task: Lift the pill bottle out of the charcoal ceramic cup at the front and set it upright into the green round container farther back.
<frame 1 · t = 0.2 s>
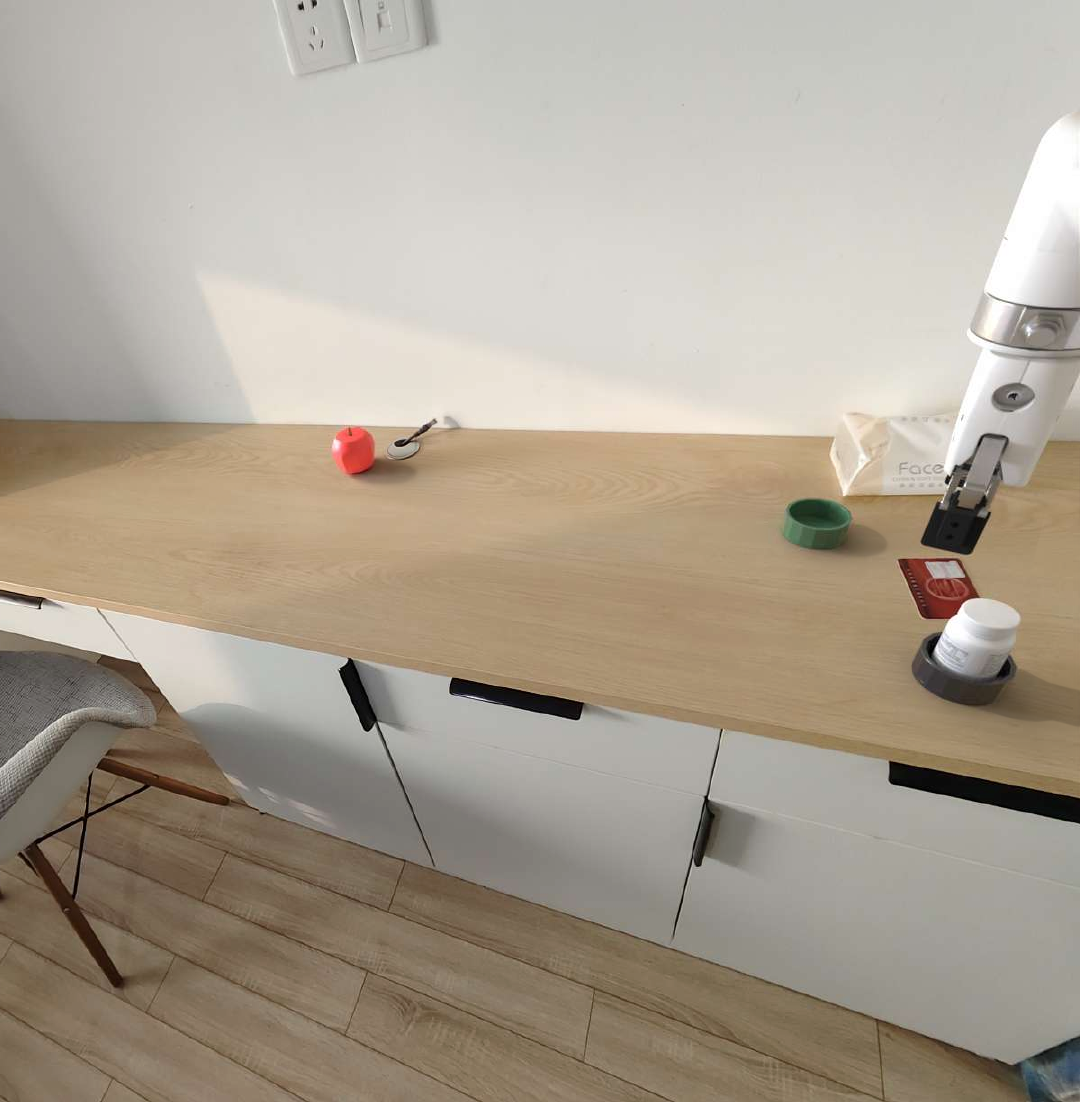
hand: (956, 516, 55), 19 cm above the table, tool pointing down, fingers open, 9 cm apart
pill bottle: (956, 676, 64), resting on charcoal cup
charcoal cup: (955, 677, 64), on the table
apple: (357, 467, 119), on the table
green round container: (812, 532, 83), on the table
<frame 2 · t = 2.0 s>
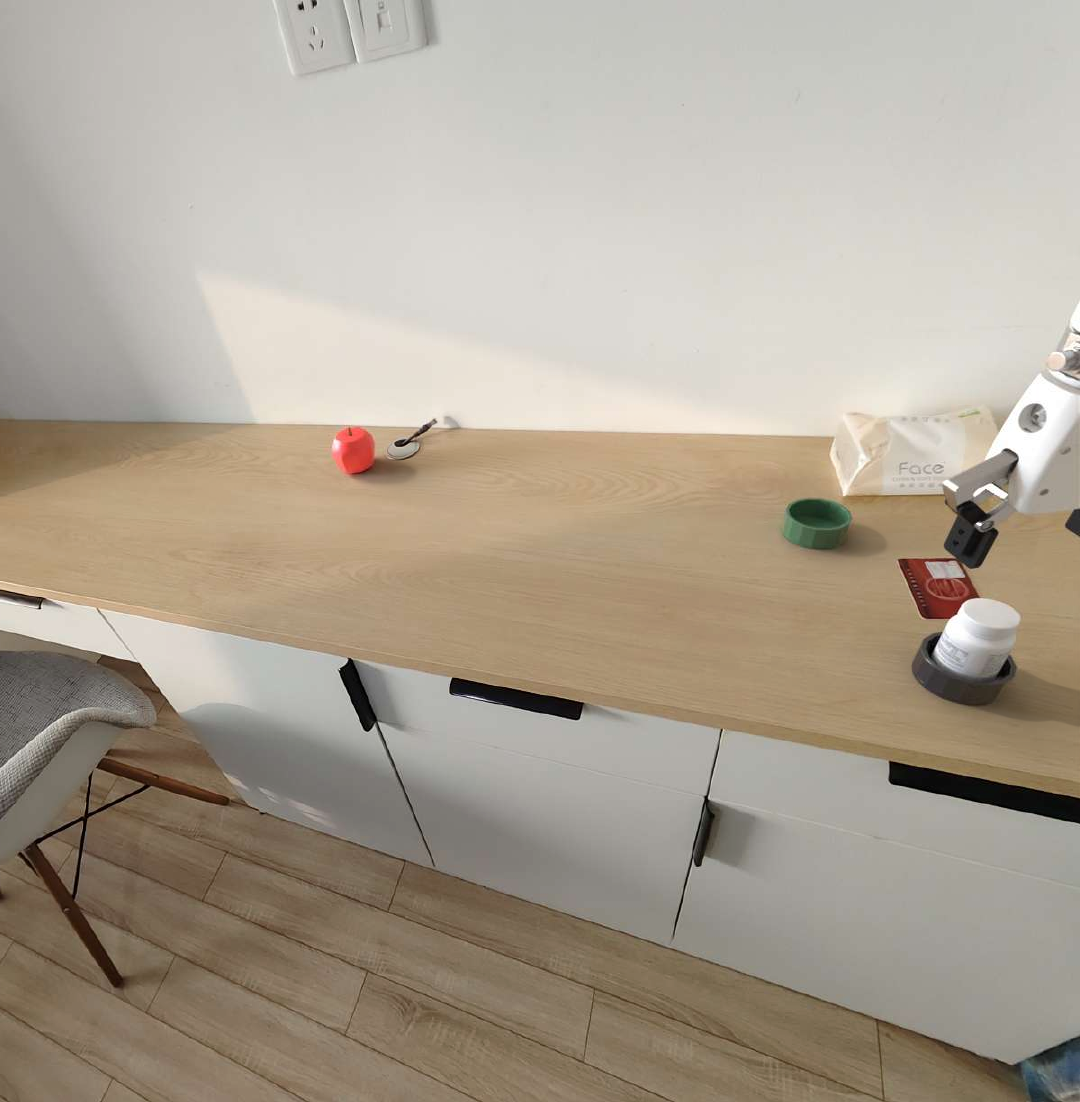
hand: (1022, 547, 55), 16 cm above the table, tool pointing down, fingers open, 9 cm apart
nothing on the table moved.
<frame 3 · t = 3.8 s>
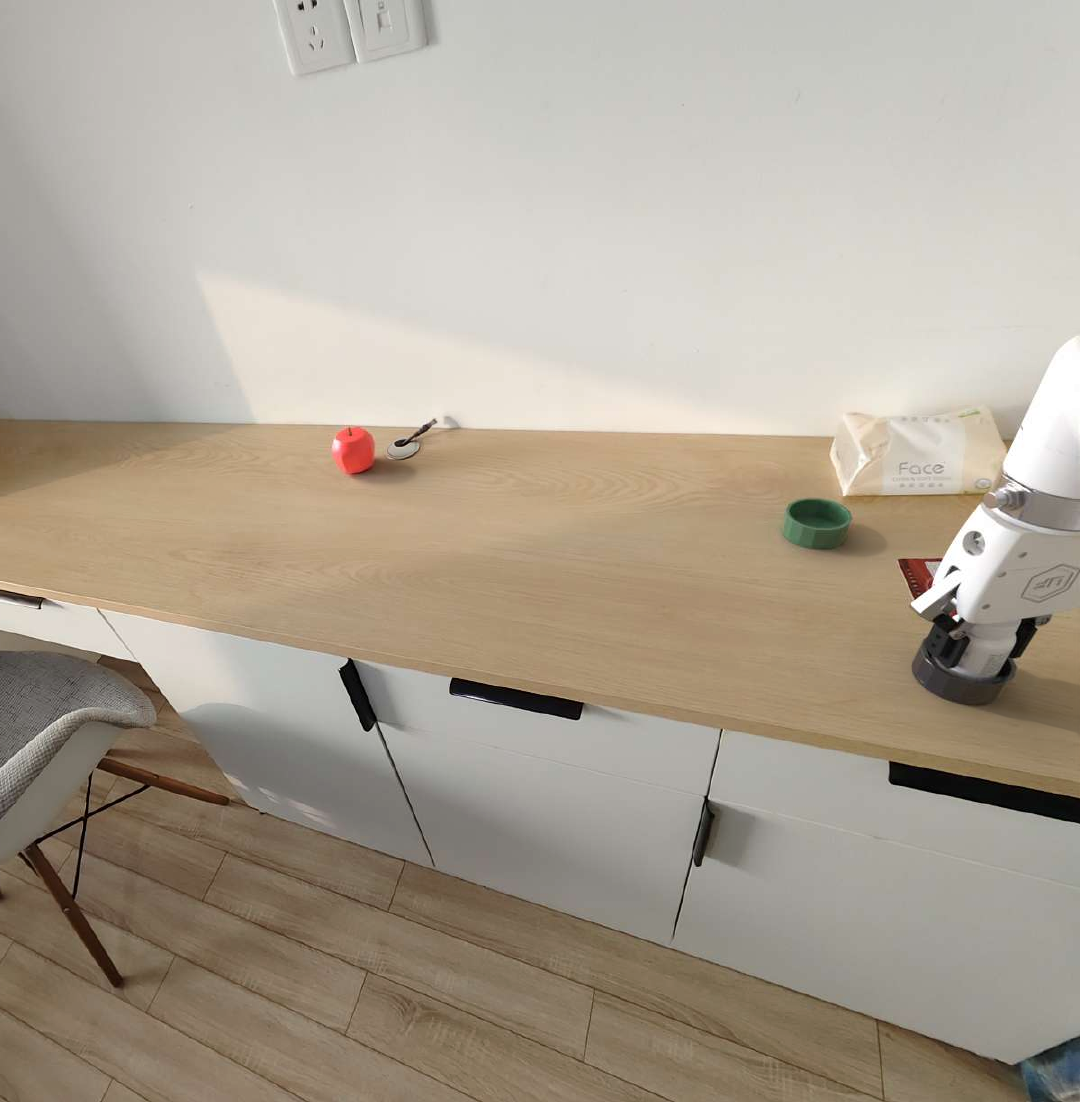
hand: (970, 651, 62), 4 cm above the table, tool pointing down, fingers closed on pill bottle, 4 cm apart
pill bottle: (956, 676, 64), resting on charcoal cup, touching gripper
everything else where it was.
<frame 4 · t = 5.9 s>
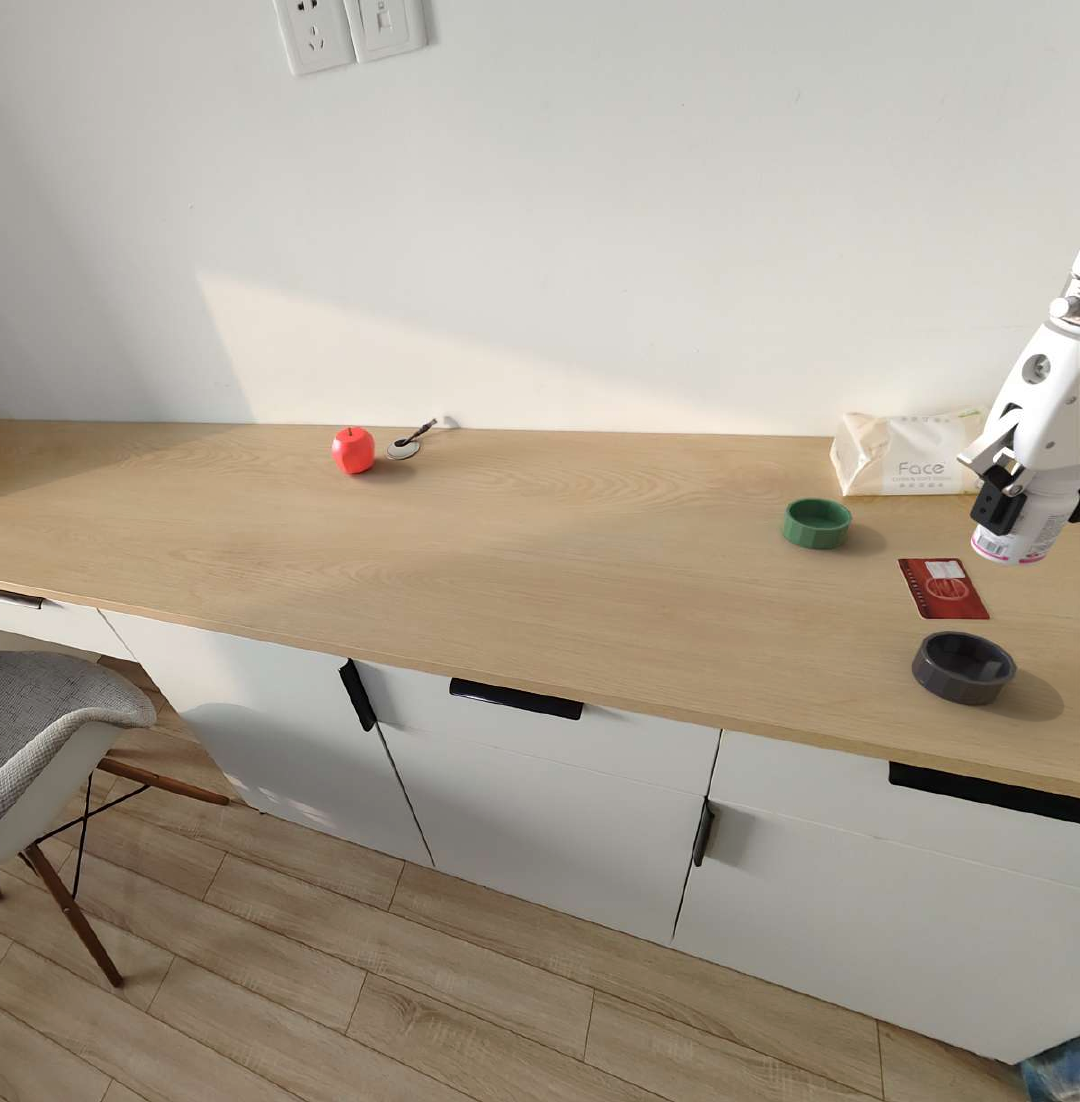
hand: (1024, 518, 54), 18 cm above the table, tool pointing down, fingers closed on pill bottle, 4 cm apart
pill bottle: (1004, 551, 56), point 15 cm above the table, touching gripper
everything else where it was.
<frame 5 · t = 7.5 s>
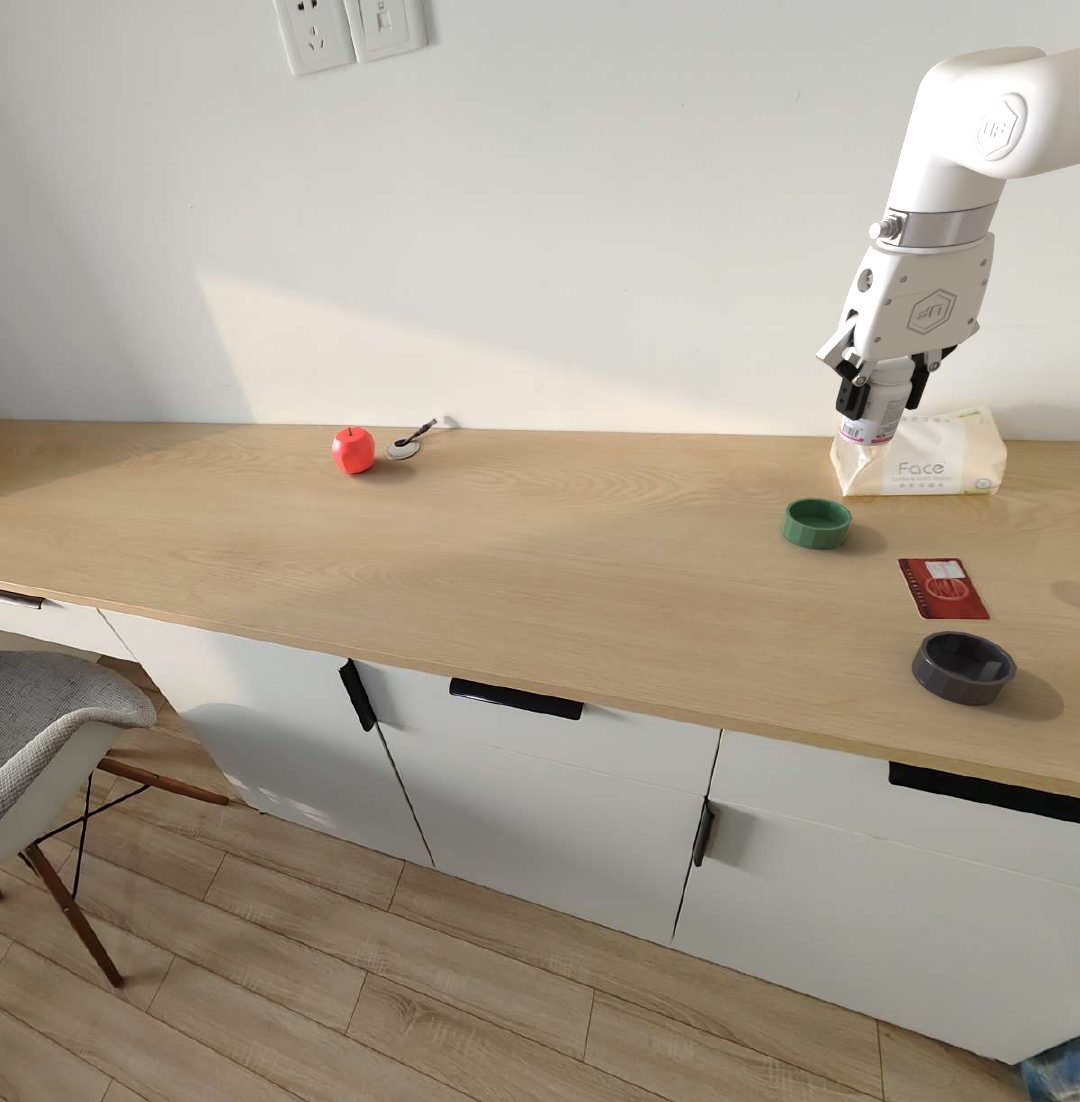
hand: (875, 407, 69), 19 cm above the table, tool pointing down, fingers closed on pill bottle, 4 cm apart
pill bottle: (864, 437, 71), point 16 cm above the table, touching gripper
everything else where it was.
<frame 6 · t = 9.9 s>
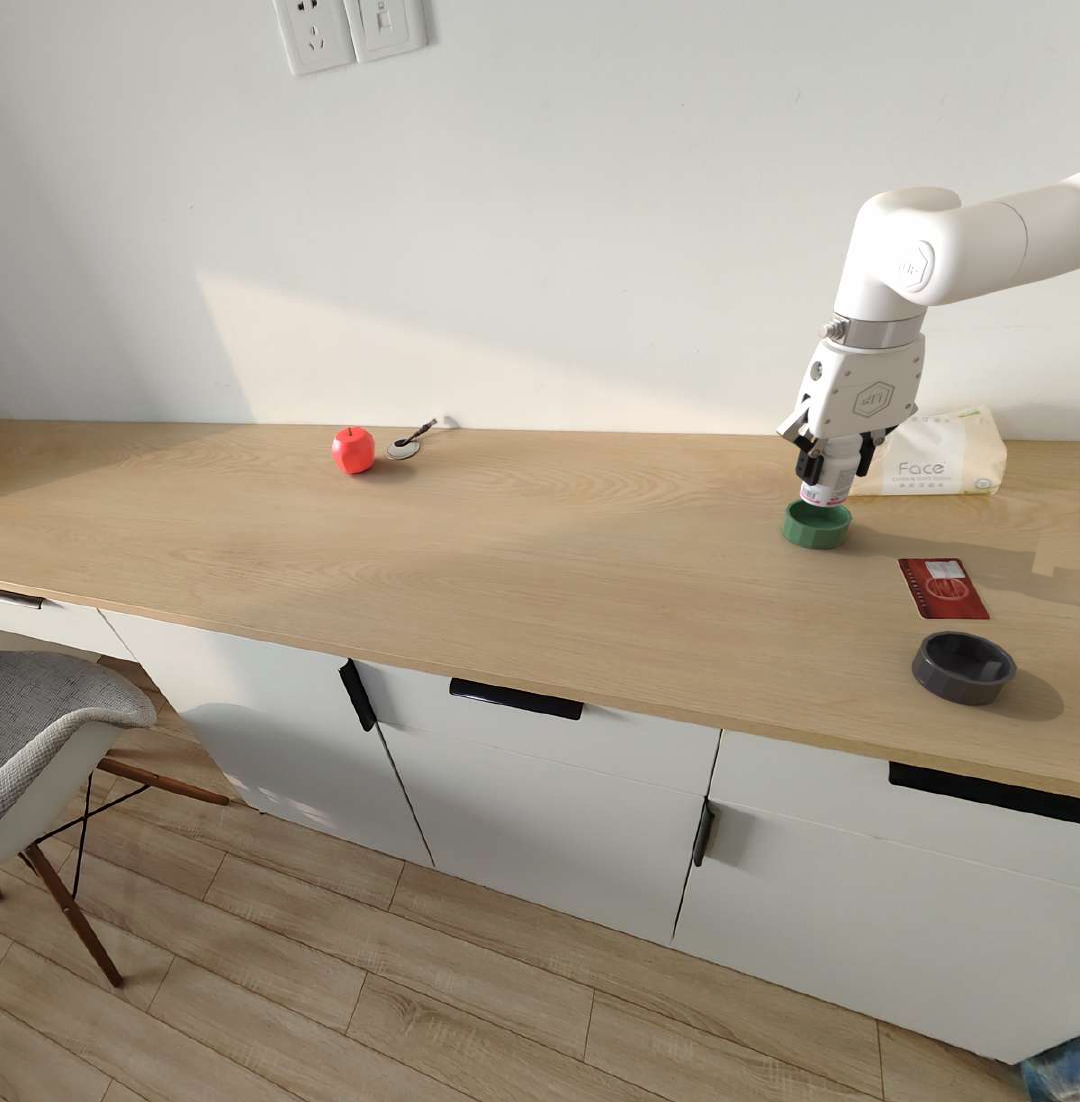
hand: (830, 474, 78), 9 cm above the table, tool pointing down, fingers closed on pill bottle, 4 cm apart
pill bottle: (821, 498, 80), point 5 cm above the table, touching gripper
everything else where it was.
when the fingers open (4 cm above the table, at t = 11.4 s): pill bottle stays where it is, resting on green round container.
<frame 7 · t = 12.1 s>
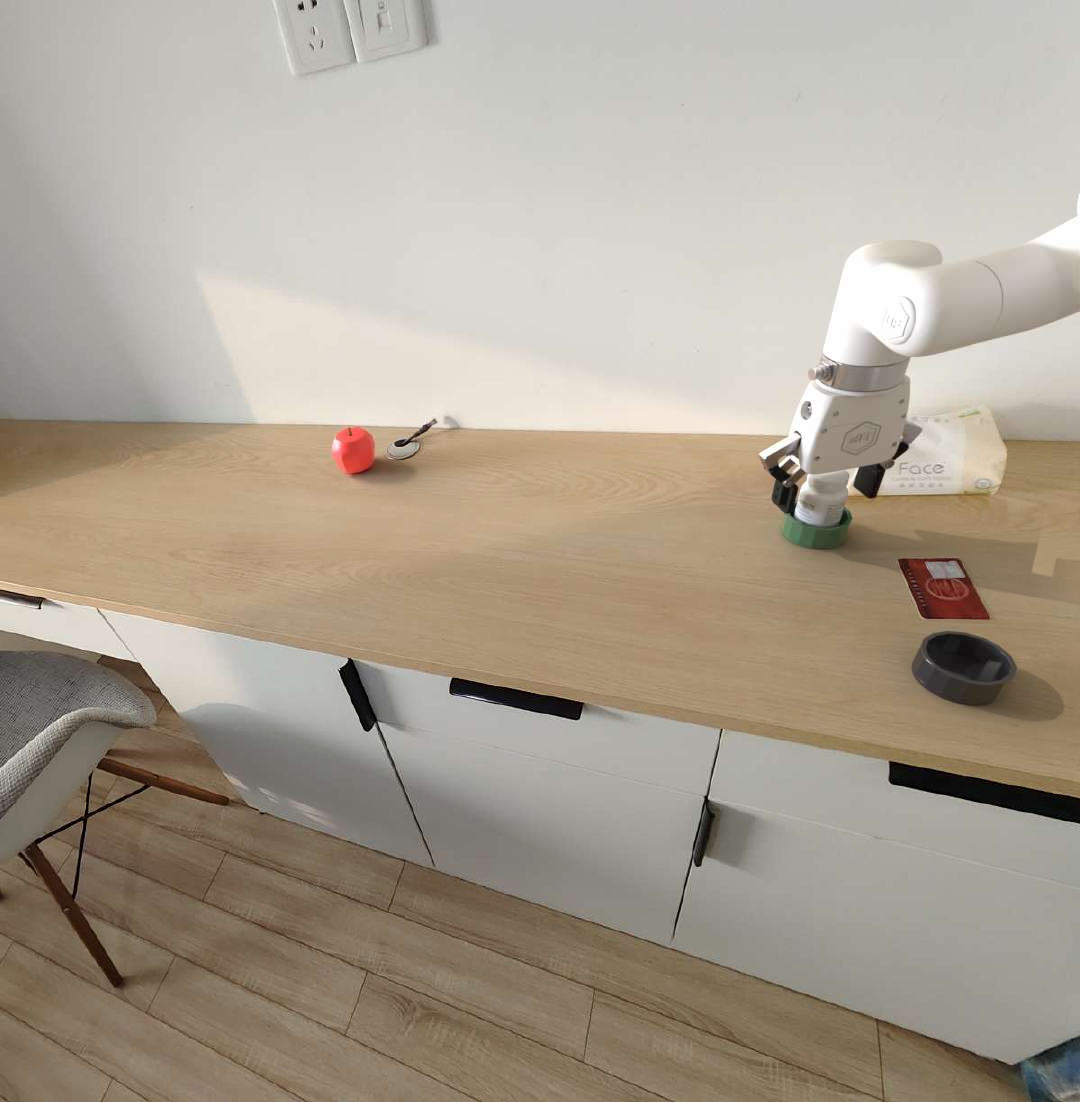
hand: (822, 500, 80), 5 cm above the table, tool pointing down, fingers open, 9 cm apart
pill bottle: (812, 530, 83), resting on green round container
everything else where it was.
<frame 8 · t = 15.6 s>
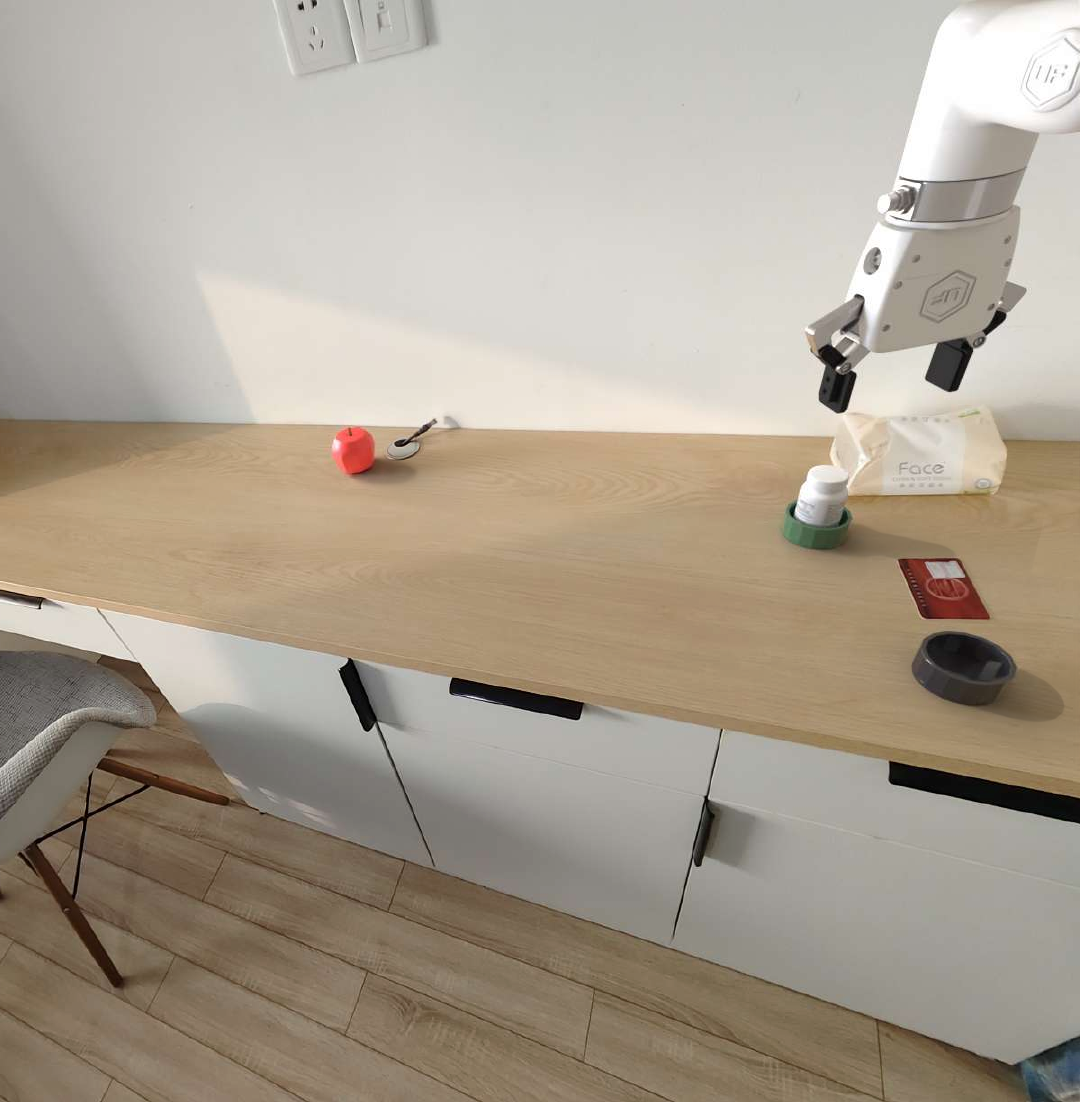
hand: (885, 396, 61), 24 cm above the table, tool pointing down, fingers open, 9 cm apart
nothing on the table moved.
at the end: pill bottle 0.1 cm off-centre in the green round container, point 0.2 cm above the green round container's base; pill bottle tilted 0°; the gripper is holding nothing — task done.
